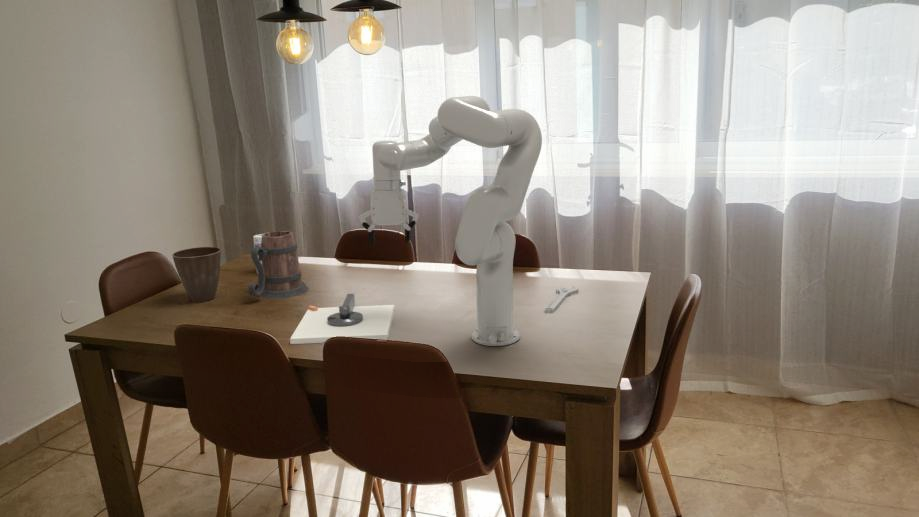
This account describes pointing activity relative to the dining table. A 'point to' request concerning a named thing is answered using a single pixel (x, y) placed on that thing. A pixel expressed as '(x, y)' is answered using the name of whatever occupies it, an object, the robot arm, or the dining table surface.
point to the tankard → (277, 267)
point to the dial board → (319, 330)
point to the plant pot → (199, 271)
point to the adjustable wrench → (560, 298)
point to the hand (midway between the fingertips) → (389, 243)
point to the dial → (346, 313)
